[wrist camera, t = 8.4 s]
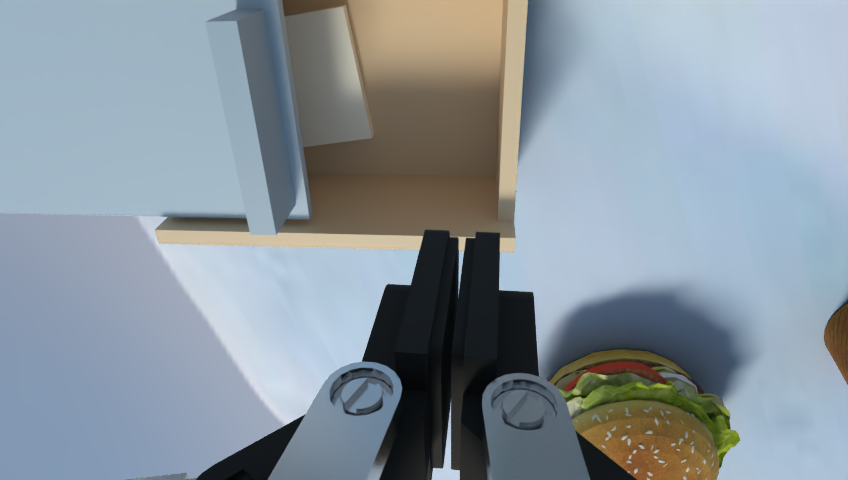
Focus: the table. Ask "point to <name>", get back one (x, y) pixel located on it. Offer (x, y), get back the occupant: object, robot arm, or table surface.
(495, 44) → the mailer box
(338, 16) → the envelope
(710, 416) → the food
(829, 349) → the disposable coffee cup
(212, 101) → the lid
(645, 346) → the table surface
